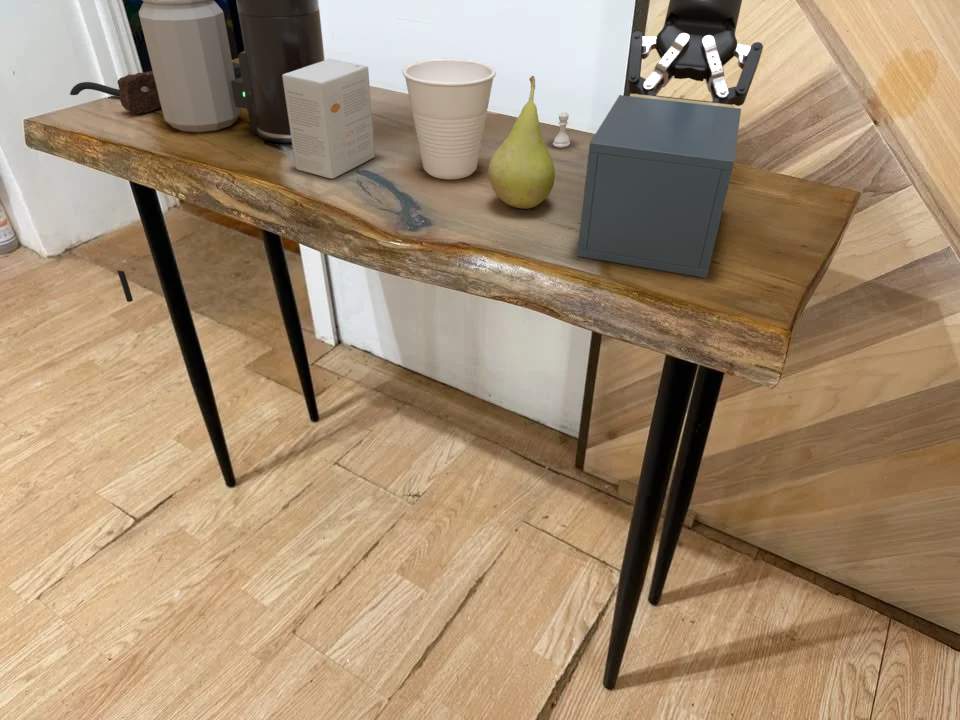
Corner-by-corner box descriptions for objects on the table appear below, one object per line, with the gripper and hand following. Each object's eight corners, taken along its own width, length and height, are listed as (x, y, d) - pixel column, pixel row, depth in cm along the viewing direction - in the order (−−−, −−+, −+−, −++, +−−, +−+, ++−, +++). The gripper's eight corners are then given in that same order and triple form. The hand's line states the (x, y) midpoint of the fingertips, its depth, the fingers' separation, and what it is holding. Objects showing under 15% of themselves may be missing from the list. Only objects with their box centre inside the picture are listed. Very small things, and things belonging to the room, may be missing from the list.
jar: (180, 139, 88) (142, -25, 77) (153, 119, 94) (114, -36, 83) (255, 124, 93) (228, -31, 82) (225, 106, 99) (196, -42, 88)
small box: (339, 149, 86) (329, 57, 80) (376, 158, 84) (369, 64, 78) (293, 169, 81) (280, 73, 74) (332, 180, 78) (321, 81, 72)
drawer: (625, 161, 82) (637, 82, 77) (718, 173, 80) (736, 92, 75) (595, 224, 69) (607, 134, 63) (706, 242, 66) (727, 149, 61)
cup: (483, 191, 77) (486, 86, 70) (395, 182, 78) (390, 78, 72) (500, 158, 85) (503, 61, 78) (419, 151, 86) (416, 55, 80)
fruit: (483, 215, 72) (486, 94, 65) (494, 186, 78) (497, 72, 71) (549, 221, 71) (559, 98, 64) (555, 191, 77) (564, 76, 70)
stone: (133, 118, 94) (122, 78, 91) (119, 113, 95) (108, 74, 92) (181, 104, 99) (173, 66, 96) (168, 100, 101) (159, 62, 98)
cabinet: (606, 195, 76) (619, 94, 70) (717, 212, 74) (741, 108, 67) (577, 256, 65) (589, 142, 59) (706, 278, 62) (734, 161, 56)
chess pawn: (562, 149, 88) (565, 116, 85) (548, 145, 89) (551, 113, 86) (573, 143, 89) (576, 111, 87) (560, 140, 90) (563, 108, 88)
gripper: (641, -40, 75) (607, 106, 73) (784, -31, 72) (752, 123, 70) (641, 6, 83) (610, 140, 81) (771, 17, 79) (741, 157, 77)
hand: (676, 131), depth 75 cm, fingers closed on drawer, 6 cm apart
